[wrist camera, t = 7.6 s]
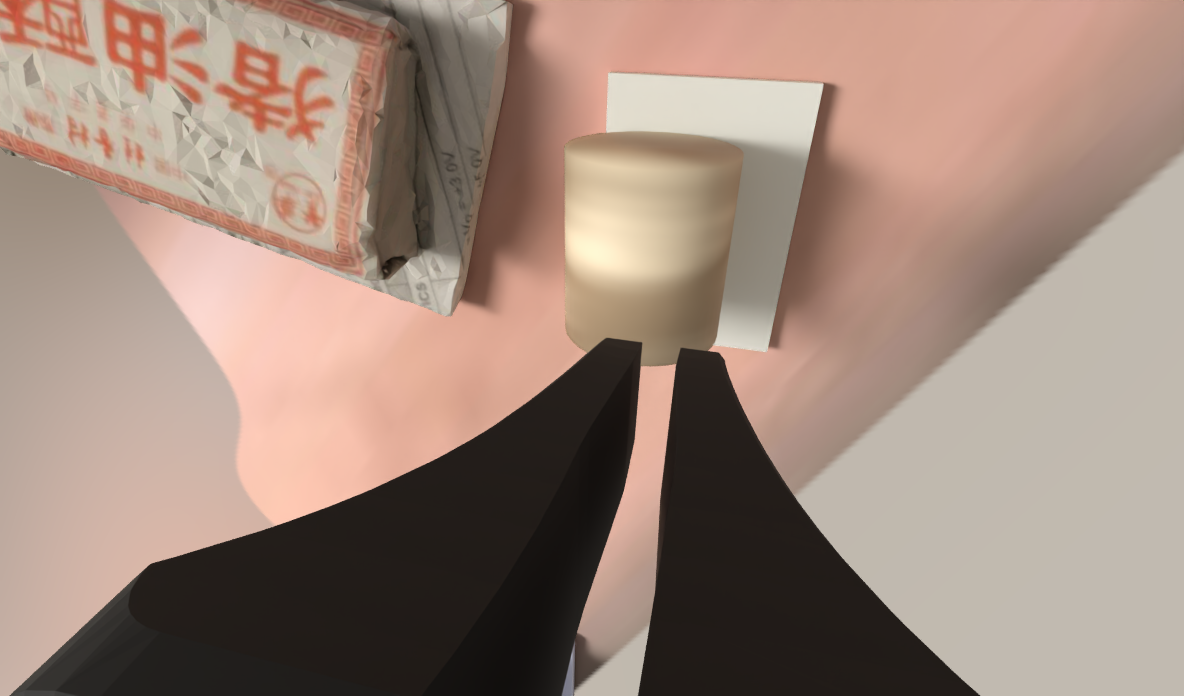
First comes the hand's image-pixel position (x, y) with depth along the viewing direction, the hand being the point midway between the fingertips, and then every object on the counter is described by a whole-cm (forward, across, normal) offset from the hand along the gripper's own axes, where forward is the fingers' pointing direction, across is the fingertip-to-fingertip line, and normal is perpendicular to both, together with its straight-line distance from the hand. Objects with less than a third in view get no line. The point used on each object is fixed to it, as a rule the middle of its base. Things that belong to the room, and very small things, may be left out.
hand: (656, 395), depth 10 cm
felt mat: (+9, 0, 0) cm, 9 cm away
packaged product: (+10, +15, -3) cm, 19 cm away
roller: (+9, +1, 0) cm, 9 cm away
